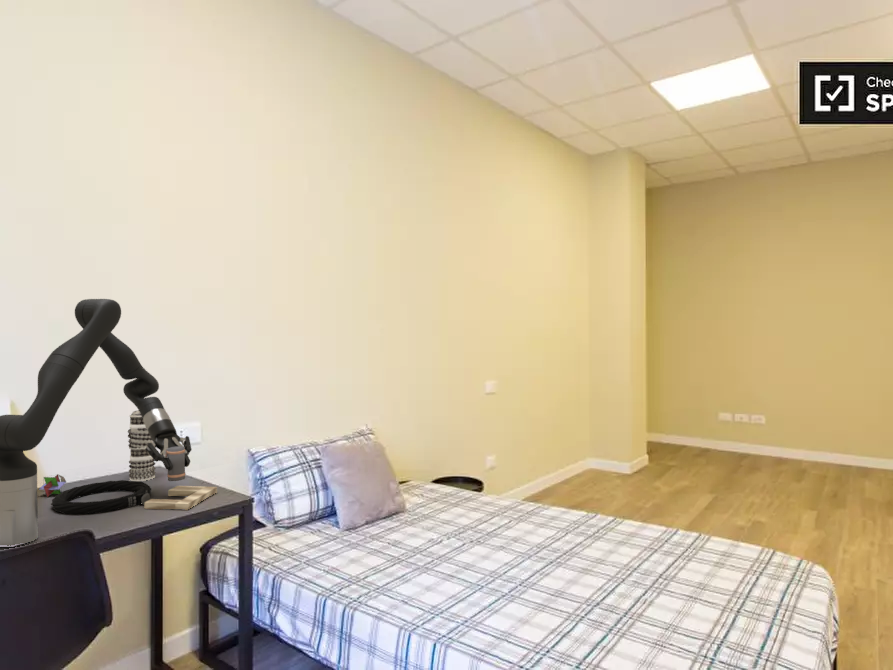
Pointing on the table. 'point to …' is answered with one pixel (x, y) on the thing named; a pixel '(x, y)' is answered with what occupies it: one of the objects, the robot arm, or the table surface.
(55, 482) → the geometric puzzle
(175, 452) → the grey banded cylinder
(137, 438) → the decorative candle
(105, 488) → the cable lock
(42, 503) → the table surface
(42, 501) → the table surface
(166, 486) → the table surface
